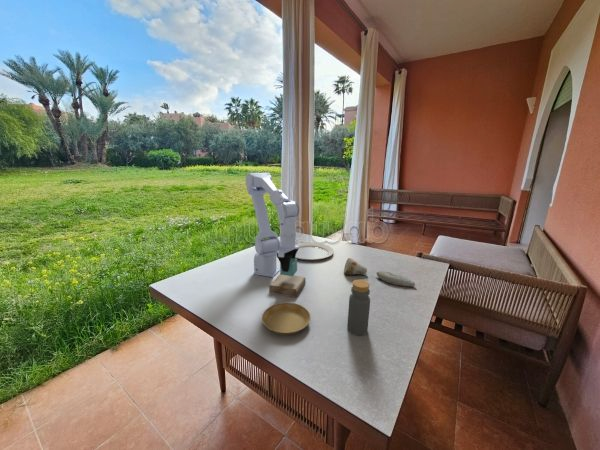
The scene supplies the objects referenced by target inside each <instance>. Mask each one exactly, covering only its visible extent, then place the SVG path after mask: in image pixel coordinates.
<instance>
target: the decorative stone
mask: <svg viewBox="0 0 600 450" xmlns="http://www.w3.org/2000/svg"><path fill="white" fill-rule="evenodd" d="M376 276H377V277H378V278H379V279H380V280H382V281H383V282H386V283H388V284H392V285H395V286H401V287H403V286H404V287H411V288H412V287H415V285H416V284H415V282H414V281H412V280H411V279H410V278H408V277H405V276H404V275H402V274H398V273H395V272H390V271H387V270H379V271H376Z"/></svg>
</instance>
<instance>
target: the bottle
mask: <svg viewBox="0 0 600 450" xmlns="http://www.w3.org/2000/svg"><path fill="white" fill-rule="evenodd" d="M350 289H351V294H350V295H349V299H348V300H349V301H348V311H347V313H348V314H347V326H346V327H347V330H348V332H349V333H351V335H355V336H365V335H366V334H367V333H368V328H369V326H368V325H369V318H370V308H371V297H370V296H369V295H370V293H371V292H370V291H371V290H370V283H369V282H368V281H367V280H363V279H354V280H353V281H352V286H351V287H350Z"/></svg>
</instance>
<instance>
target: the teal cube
mask: <svg viewBox="0 0 600 450" xmlns="http://www.w3.org/2000/svg"><path fill="white" fill-rule="evenodd" d="M279 267H280V268H279V269H280V270H279V275H280V274H281V275H287V276H293V275H294V276H295V274H296V273H297V272H298V258H295V259H294V258H291V260H290V264H289V270H288V272H285V271H282V267H281V264H279Z"/></svg>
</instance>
